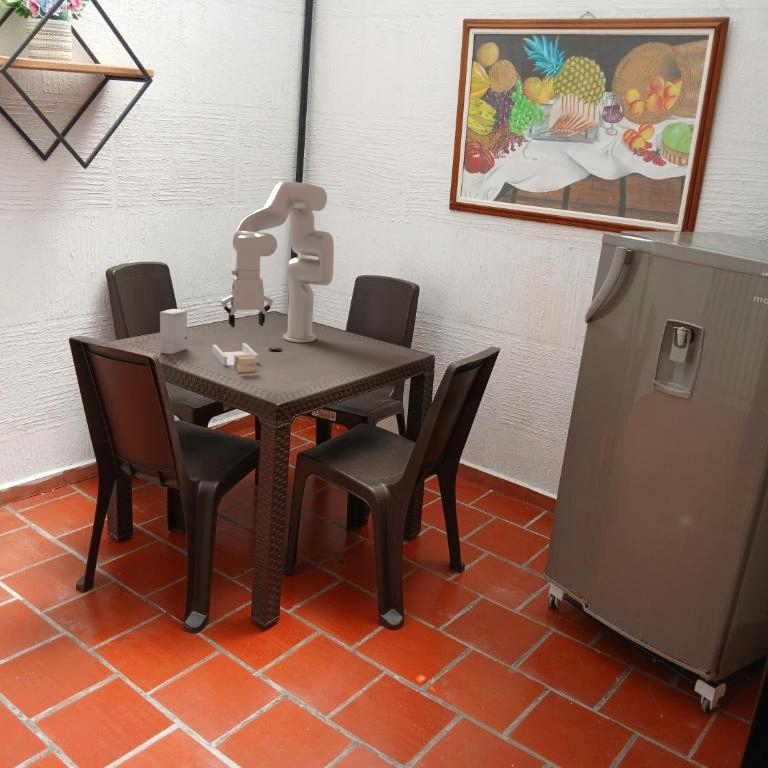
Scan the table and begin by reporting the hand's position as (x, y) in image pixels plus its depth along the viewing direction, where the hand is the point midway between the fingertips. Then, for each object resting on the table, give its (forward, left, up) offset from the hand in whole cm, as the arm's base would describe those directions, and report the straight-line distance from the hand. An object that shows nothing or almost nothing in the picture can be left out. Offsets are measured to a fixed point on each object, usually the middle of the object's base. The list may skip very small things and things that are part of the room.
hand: (246, 325), depth 264 cm
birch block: (-1, 0, -16) cm, 16 cm away
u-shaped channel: (-14, 0, -16) cm, 21 cm away
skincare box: (-28, -18, -16) cm, 37 cm away
